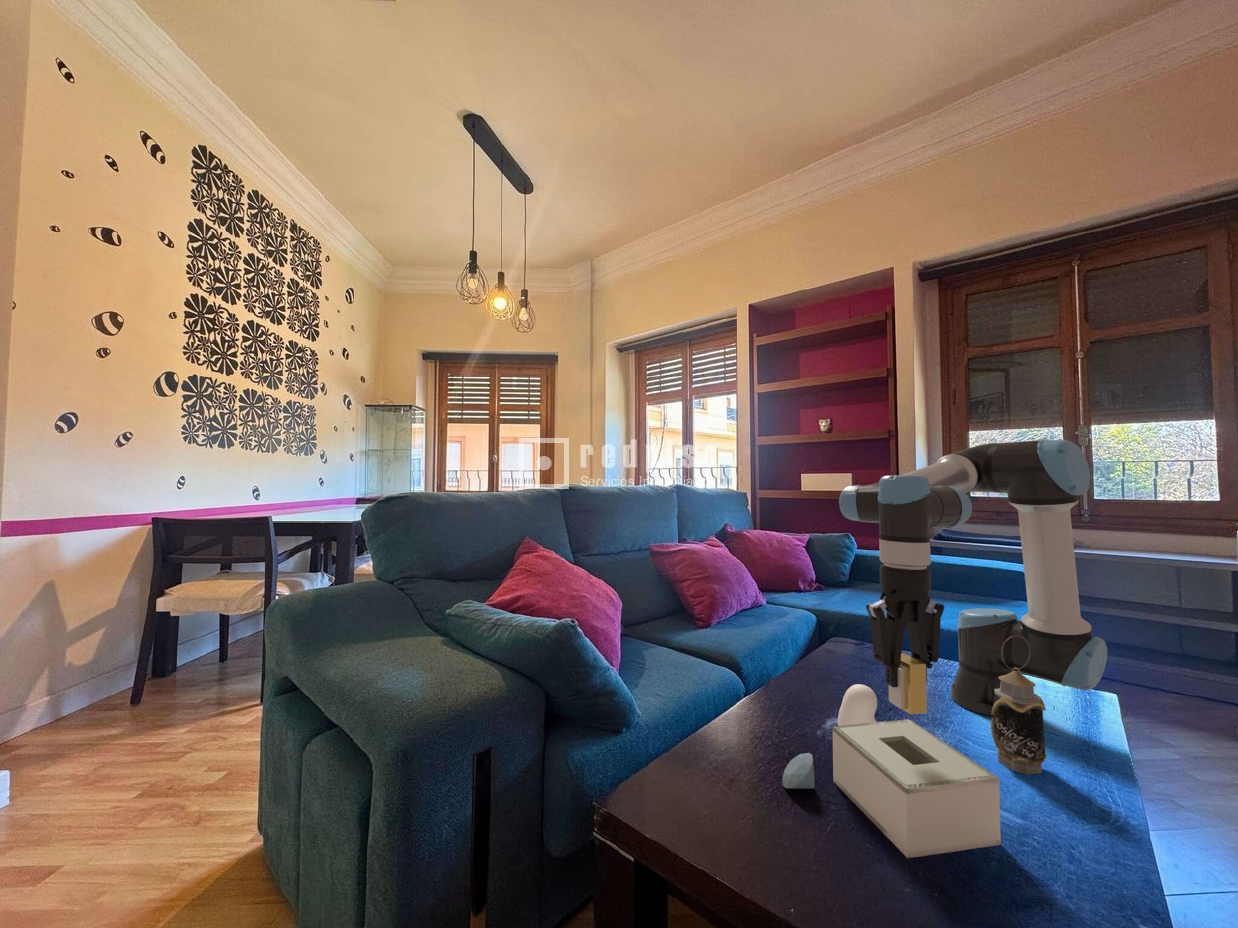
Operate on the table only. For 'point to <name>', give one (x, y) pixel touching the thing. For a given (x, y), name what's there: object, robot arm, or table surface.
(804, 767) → the gemstone
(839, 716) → the figurine
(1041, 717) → the ring-topped bottle ornament
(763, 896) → the table surface
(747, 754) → the table surface
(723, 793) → the table surface
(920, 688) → the tan rectangular block
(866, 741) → the coin box
